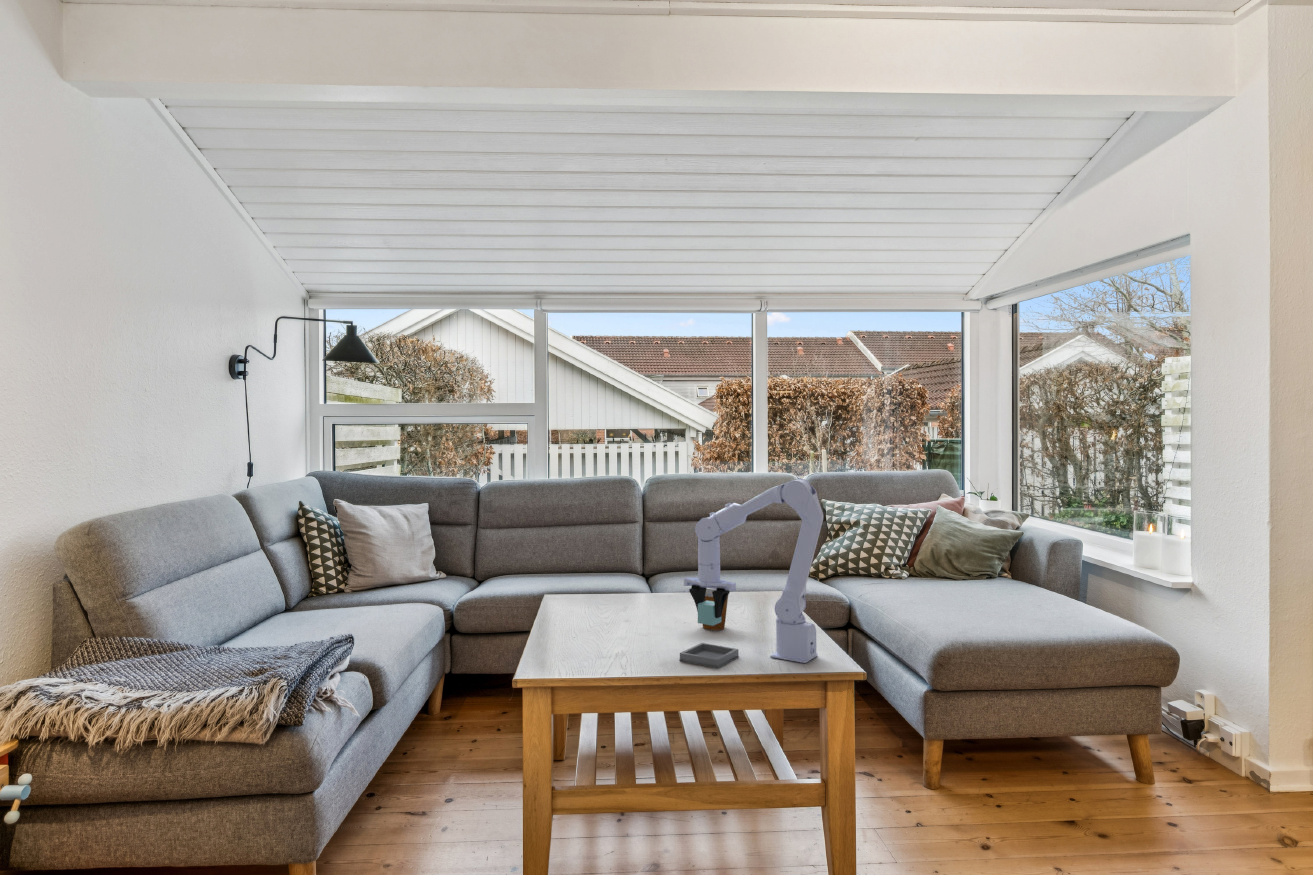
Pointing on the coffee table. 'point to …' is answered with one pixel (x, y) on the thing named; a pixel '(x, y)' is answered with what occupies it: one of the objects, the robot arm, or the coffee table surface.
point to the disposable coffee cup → (723, 617)
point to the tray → (709, 655)
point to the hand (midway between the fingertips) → (709, 615)
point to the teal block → (707, 613)
